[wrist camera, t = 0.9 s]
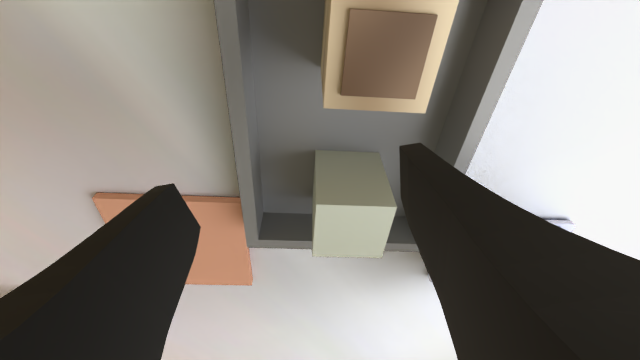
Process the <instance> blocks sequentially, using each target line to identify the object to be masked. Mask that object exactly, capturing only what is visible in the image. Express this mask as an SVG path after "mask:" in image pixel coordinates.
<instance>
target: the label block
mask: <svg viewBox="0 0 640 360" xmlns="http://www.w3.org/2000/svg"><path fill="white" fill-rule="evenodd" d="M458 3H459V0H325V6H324V22H323V38H322V54H321V80H322V95H323V108H328V109H348V110H367V111H387V112H407V113H426V109H427V106H428V103H429V99H430V96H431V93H432V89H433V86H434V83H435V79H436V76H437V73H438V69H439V66H440V63H441V59H442V56H443V53H444V49H445V46H446V43H447V39H448V36H449V33H450V29H451V26H452V23H453V19H454V16H455V13H456V10H457V6H458Z"/></svg>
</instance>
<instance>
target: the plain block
mask: <svg viewBox="0 0 640 360" xmlns="http://www.w3.org/2000/svg"><path fill="white" fill-rule="evenodd" d="M396 209H397V206H396V203H395V199H394V196H393V193H392V190H391V187H390V184H389V181H388V178H387V175H386V172H385V169H384V166H383V163H382V160H381V157H380V154H379V153H374V152H351V151H328V150H315V166H314V182H313V198H312V256H315V257H357V258H382V255H383V252H384V249H385V245H386V242H387V239H388V236H389V232H390V229H391V226H392V222H393V219H394V216H395V212H396Z"/></svg>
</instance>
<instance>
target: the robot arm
mask: <svg viewBox="0 0 640 360" xmlns="http://www.w3.org/2000/svg"><path fill="white" fill-rule="evenodd" d="M399 153H400V192H401V200H402V204H403V208H404V211H405V215H406V218H407V222H408V225H409V228H410V230H411V232H412V235H413V237H414V240H415V242H416V244H417V247H418V249H419V252H420V254H421V256H422V259H423V261H424V263H425V266H426V268H427V270H428V273H429V275H428V278H429V280H430V281H431V282H433V285H434V287H435V289H436V292H437V295H438V298H439V300H440V303H441V306H442V309H443V312H444V315H445V319H446V322H447V325H448V328H449V331H450V335H451V338H452V341H453V344H454V348H455V351H456V354H457V358H458V360H640V260H637V259H635V258H632V257H630V256H627V255H624V254H622V253H619V252H617V251H614V250H612V249H609V248H607V247H605V246H602V245H600V244H597V243H595V242H593V241H590V240H588V239H586V238H583V237H581V236H579V235H576V234H574V233H572V231H573V230H574V229H575V227H576V225H575V224H574V223H573V222H572V221H566V220H544V219H542V218H540V217H538V216H536V215H534V214H532V213H530V212H528V211H526V210H524V209H522V208H520V207H518V206H516V205H515V204H513V203H511V202H509V201H507V200H505V199H504V198H502V197H500V196H499V195H497V194H495V193H494V192H492V191H490V190H489V189H487V188H485V187H484V186H482V185H480V184H479V183H477V182H476V181H474V180H472V179H471V178H469V177H468V176H466V175H465V174H463V173H462V172H461V171H459V170H458V169H456V168H455V167H453V166H452V165H450V164H449V163H448V162H446V161H445V160H443V159H442V158H441V157H439V156H438V155H437V154H435V153H434V152H433V151H431V150H430V149H429V148H427V147H426V146H424V145H423V144H422V143H414V144H408V145H402V146H399ZM200 229H201V226H200V225H199V223H198V222H197V220H196V218H195V217H194V215H193V214H192V212H191V210H190V209H189V207H188V206H187V204H186V202H185V201H184V199H183V198H182V196H181V194H180V193H179V191H178V190H177V188H176V187H175V185H174V184H168V185H162V186H156V187H154V188H153V189H151V190H150V191H148V192H147V193H145V194H144V195H142V196H141V197H140V198H138V199H137V200H136V201H134V202H133V203H132V204H130V205H129V206H128V207H126V208H125V209H124V210H123V211H121V212H120V213H119V214H118V215H116V216H115V217H114V218H112V219H111V220H110V221H109V222H107V223H106V224H105V225H104V226H102V227H101V228H100V229H98V230H97V231H96V232H95V233H93V234H92V235H91V236H89V237H88V238H87V239H85V240H84V241H83V242H81V243H80V244H79V245H77V246H76V247H75V248H73V249H72V250H71V251H69V252H68V253H67V254H65V255H64V256H63V257H61V258H60V259H59V260H57V261H56V262H54V263H53V264H52V265H50V266H49V267H47V268H46V269H44V270H43V271H42V272H40V273H39V274H37V275H36V276H34V277H33V278H31V279H30V280H28V281H27V282H25V283H24V284H22V285H21V286H19V287H17V288H16V289H14V290H13V291H11V292H10V293H8V294H7V295H5V296H3V297H2V298H0V360H161V357H162V353H163V349H164V345H165V341H166V337H167V334H168V331H169V327H170V324H171V321H172V318H173V316H174V313H175V310H176V307H177V305H178V302H179V299H180V296H181V294H182V291H183V288H184V286H185V283H186V280H187V277H188V275H189V272H190V269H191V266H192V263H193V260H194V257H195V254H196V250H197V245H198V240H199V235H200Z"/></svg>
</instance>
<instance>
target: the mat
mask: <svg viewBox="0 0 640 360" xmlns="http://www.w3.org/2000/svg"><path fill="white" fill-rule="evenodd" d="M142 195H144V194H121V193H96V194H95V195H94V197H93V198H92V199H93V201H94V203H95V205H96V207H97V209H98V211H99V212H100V214H101V216H102V218H103V220H104V222H105V224H106V223H107V222H109V221H110V220H111V219H112V218H114V217H115V216H116V215H118V214H119V213H120V212H121V211H123V210H124V209H125V208H126V207H128V206H129V205H130V204H132V203H133V202H134V201H136V200H137V199H138V198H140V197H141V196H142ZM182 198H183V199H184V201H185V202H186V204H187V206H188V207H189V209H190V210H191V212H192V214H193V215H194V217H195V218H196V220H197V222H198V223H199V225H200V226H201V229H200V235H199V240H198V245H197V250H196V254H195V257H194V260H193V263H192V266H191V269H190V272H189V275H188V277H187V280H186V283H185V284H205V285H252V281H253V277H252V269H251V262H250V254H249V248H247V244H246V236H245V229H244V221H243V214H242V207H241V199H240V198H239V197H210V196H182Z"/></svg>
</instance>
